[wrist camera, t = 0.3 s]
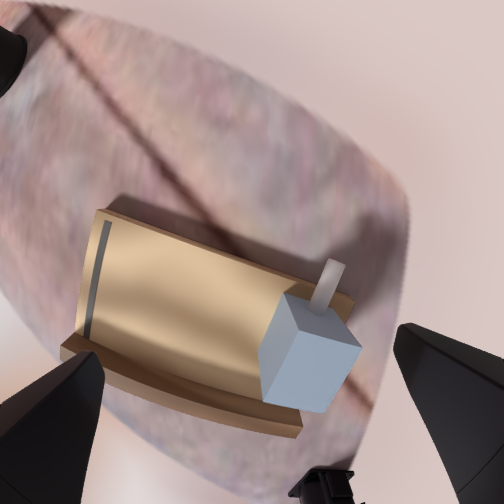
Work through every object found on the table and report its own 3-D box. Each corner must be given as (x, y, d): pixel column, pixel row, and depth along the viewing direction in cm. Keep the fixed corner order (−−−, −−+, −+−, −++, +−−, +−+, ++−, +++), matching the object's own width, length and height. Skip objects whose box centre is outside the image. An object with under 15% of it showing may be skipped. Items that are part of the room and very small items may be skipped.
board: (288, 409, 24) (295, 438, 20) (80, 338, 22) (59, 360, 18) (348, 295, 22) (368, 315, 18) (105, 208, 20) (79, 212, 16)
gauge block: (305, 364, 22) (323, 413, 16) (257, 351, 21) (262, 401, 15) (352, 264, 20) (390, 291, 14) (302, 245, 20) (326, 266, 14)
